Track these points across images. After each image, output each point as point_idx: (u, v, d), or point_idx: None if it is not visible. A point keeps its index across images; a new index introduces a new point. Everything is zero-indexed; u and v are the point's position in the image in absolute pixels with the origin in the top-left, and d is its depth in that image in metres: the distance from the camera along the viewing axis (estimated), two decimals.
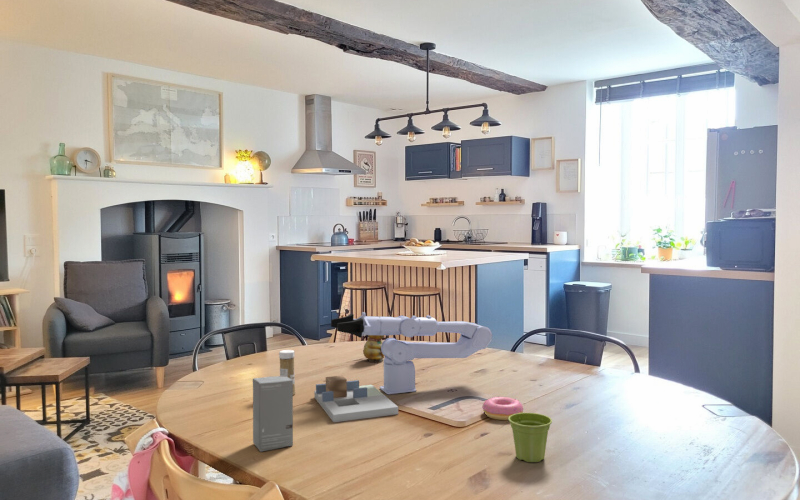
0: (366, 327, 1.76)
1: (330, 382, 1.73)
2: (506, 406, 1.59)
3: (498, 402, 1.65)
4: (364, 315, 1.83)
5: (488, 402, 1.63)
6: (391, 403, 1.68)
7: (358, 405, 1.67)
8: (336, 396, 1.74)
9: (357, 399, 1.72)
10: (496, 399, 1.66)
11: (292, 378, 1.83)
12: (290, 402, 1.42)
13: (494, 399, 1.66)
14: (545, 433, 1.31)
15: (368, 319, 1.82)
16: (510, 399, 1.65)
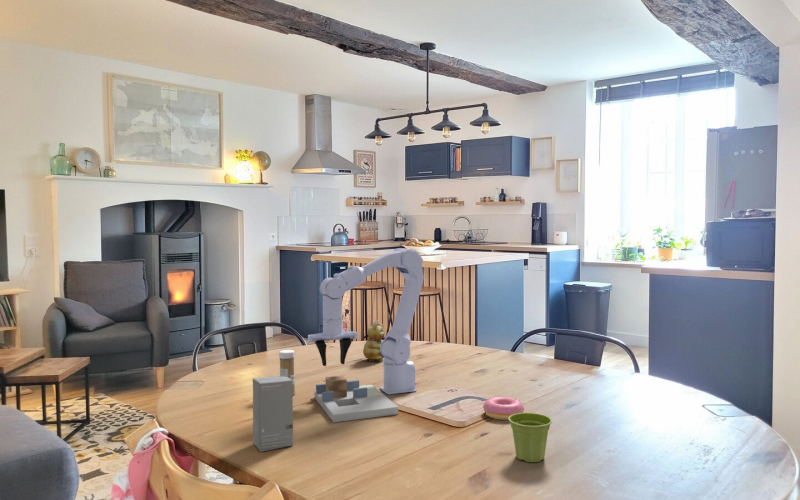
0: None
1: (330, 382, 1.73)
2: (507, 406, 1.59)
3: (499, 402, 1.66)
4: (339, 336, 1.76)
5: (489, 402, 1.63)
6: (391, 403, 1.68)
7: (358, 405, 1.67)
8: (336, 396, 1.74)
9: (357, 399, 1.72)
10: (497, 399, 1.66)
11: (292, 378, 1.83)
12: (290, 402, 1.42)
13: (495, 399, 1.66)
14: (545, 433, 1.31)
15: (340, 331, 1.77)
16: (511, 399, 1.65)
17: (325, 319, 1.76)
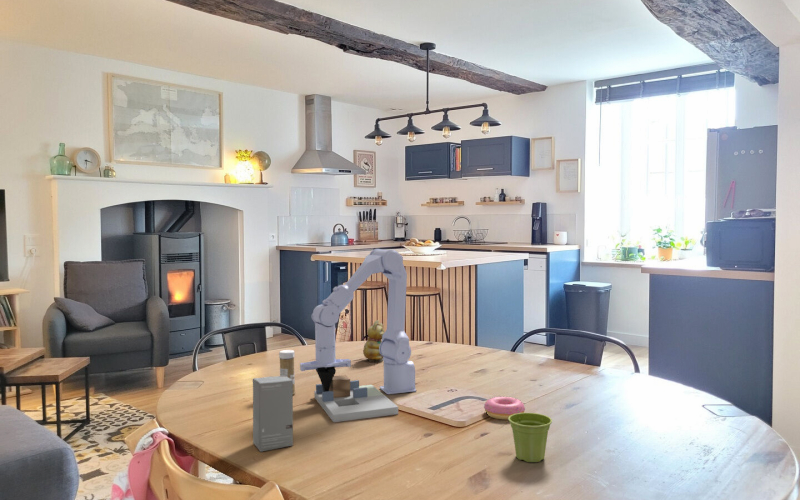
0: None
1: (334, 381, 1.74)
2: (508, 406, 1.60)
3: (500, 402, 1.66)
4: (331, 365, 1.72)
5: (490, 402, 1.63)
6: (391, 403, 1.68)
7: (358, 405, 1.67)
8: (339, 395, 1.74)
9: (357, 399, 1.72)
10: (498, 399, 1.66)
11: (292, 378, 1.83)
12: (290, 402, 1.42)
13: (496, 399, 1.66)
14: (545, 433, 1.31)
15: (333, 360, 1.74)
16: (512, 399, 1.66)
17: (318, 347, 1.73)
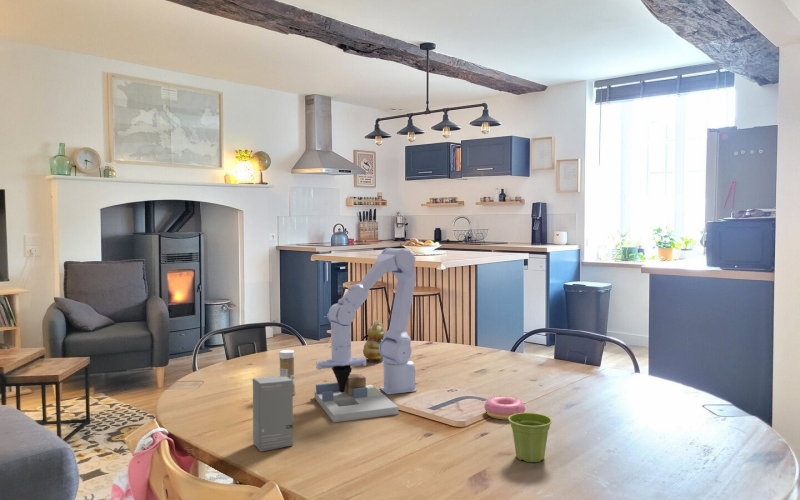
0: None
1: (349, 380, 1.75)
2: (508, 406, 1.60)
3: (500, 402, 1.66)
4: (347, 363, 1.74)
5: (490, 402, 1.63)
6: (391, 403, 1.68)
7: (358, 405, 1.67)
8: None
9: (357, 399, 1.72)
10: (498, 399, 1.66)
11: (292, 378, 1.83)
12: (290, 402, 1.42)
13: (496, 399, 1.66)
14: (545, 433, 1.31)
15: (349, 358, 1.75)
16: (512, 399, 1.66)
17: (334, 346, 1.74)
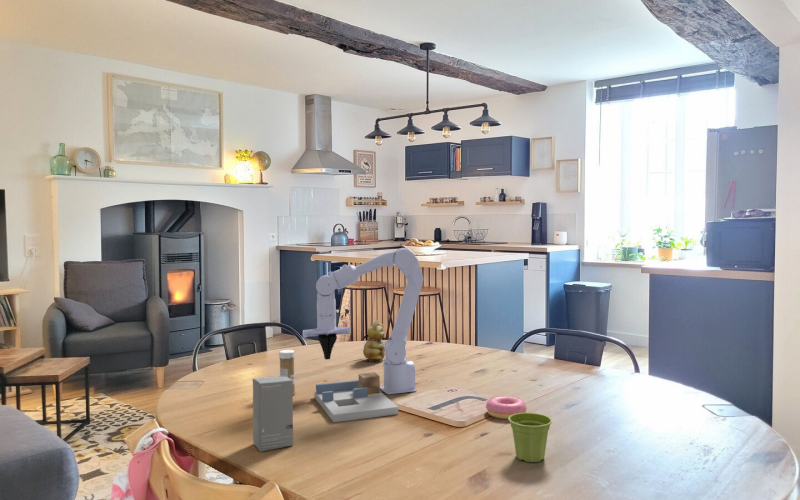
0: None
1: (364, 379, 1.77)
2: (509, 405, 1.60)
3: (502, 402, 1.66)
4: (332, 331, 1.83)
5: (491, 401, 1.63)
6: (391, 403, 1.68)
7: (358, 405, 1.67)
8: (369, 392, 1.77)
9: (357, 399, 1.72)
10: (499, 398, 1.66)
11: (292, 378, 1.83)
12: (290, 402, 1.42)
13: (497, 398, 1.66)
14: (545, 433, 1.31)
15: (334, 327, 1.85)
16: (513, 398, 1.66)
17: (319, 315, 1.84)
